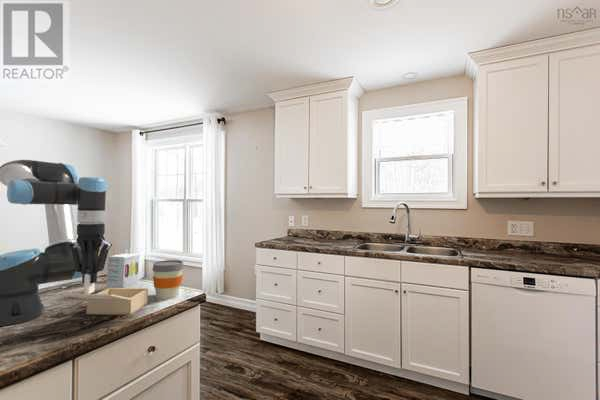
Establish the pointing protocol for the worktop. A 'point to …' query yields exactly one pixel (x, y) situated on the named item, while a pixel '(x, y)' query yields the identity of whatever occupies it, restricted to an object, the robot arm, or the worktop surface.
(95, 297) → the lid
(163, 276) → the reusable coffee cup
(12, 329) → the worktop surface
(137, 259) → the supplement box
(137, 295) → the mailer
